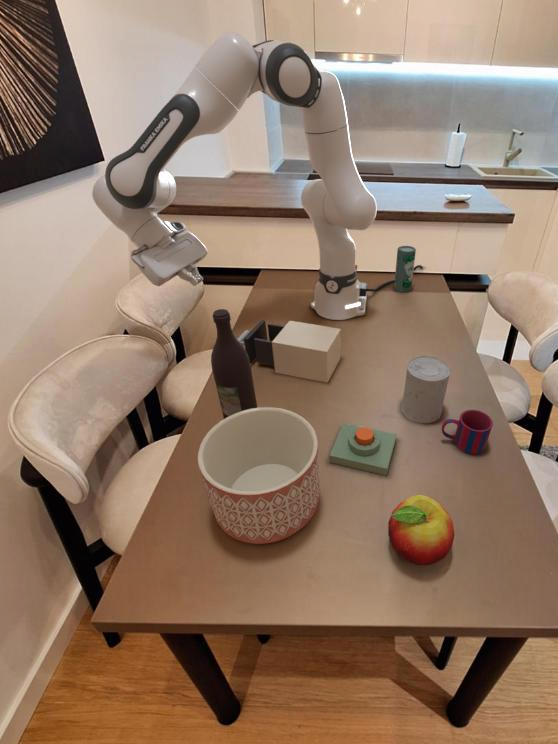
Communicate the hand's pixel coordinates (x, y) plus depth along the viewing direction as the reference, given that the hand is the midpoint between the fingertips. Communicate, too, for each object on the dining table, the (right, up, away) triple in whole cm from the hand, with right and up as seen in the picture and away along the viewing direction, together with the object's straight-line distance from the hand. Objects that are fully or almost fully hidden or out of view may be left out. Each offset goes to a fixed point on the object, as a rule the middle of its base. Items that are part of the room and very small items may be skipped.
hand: (199, 282), depth 102 cm
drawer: (+17, -18, +8) cm, 26 cm away
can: (+58, +10, +47) cm, 75 cm away
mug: (+63, -39, -15) cm, 76 cm away
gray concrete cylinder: (+56, -32, -6) cm, 65 cm away
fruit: (+50, -54, -34) cm, 81 cm away
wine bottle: (+16, -37, -15) cm, 43 cm away
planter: (+24, -48, -28) cm, 60 cm away
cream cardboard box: (+27, -21, +7) cm, 35 cm away
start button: (+42, -37, -20) cm, 59 cm away
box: (+42, -40, -18) cm, 60 cm away
